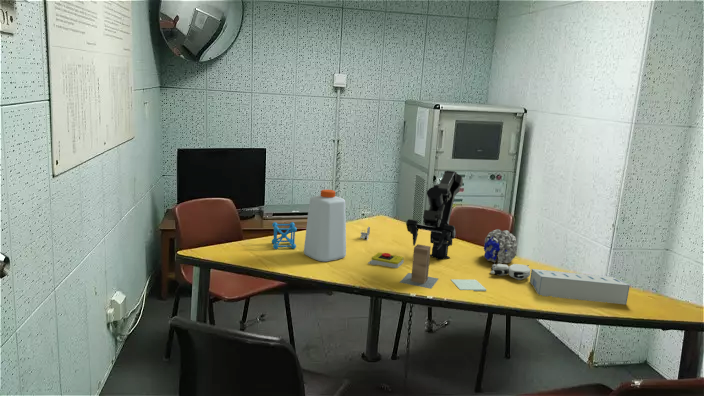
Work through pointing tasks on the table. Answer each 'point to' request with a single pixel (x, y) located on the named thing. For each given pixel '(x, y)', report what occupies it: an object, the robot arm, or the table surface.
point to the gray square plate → (427, 284)
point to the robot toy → (511, 270)
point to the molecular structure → (284, 235)
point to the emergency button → (386, 260)
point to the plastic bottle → (326, 227)
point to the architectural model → (365, 235)
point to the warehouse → (579, 286)
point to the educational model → (500, 246)
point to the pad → (468, 285)
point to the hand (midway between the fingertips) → (425, 247)
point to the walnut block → (420, 263)
